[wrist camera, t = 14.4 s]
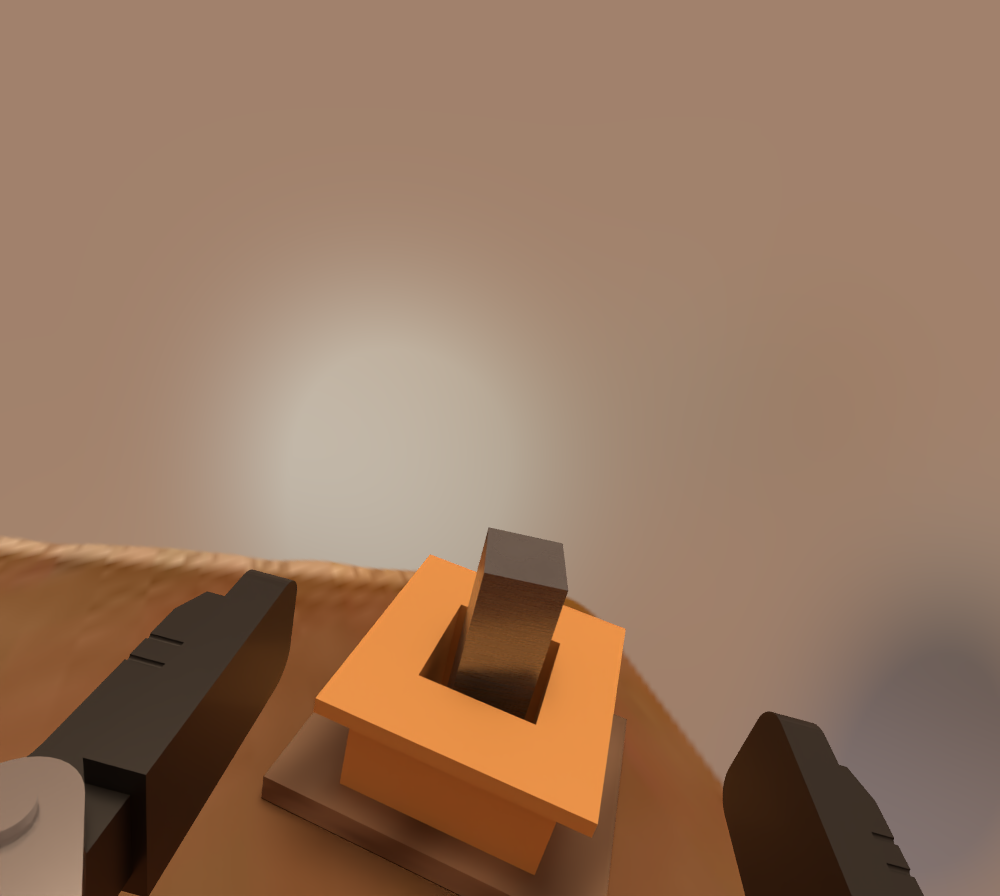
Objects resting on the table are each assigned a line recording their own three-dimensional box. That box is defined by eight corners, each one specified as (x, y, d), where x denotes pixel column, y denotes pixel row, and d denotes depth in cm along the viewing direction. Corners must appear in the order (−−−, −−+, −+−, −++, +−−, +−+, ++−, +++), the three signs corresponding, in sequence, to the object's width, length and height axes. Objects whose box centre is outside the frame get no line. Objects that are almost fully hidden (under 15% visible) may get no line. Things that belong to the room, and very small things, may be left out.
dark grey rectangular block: (431, 768, 29) (483, 572, 24) (441, 709, 32) (488, 527, 27) (502, 782, 29) (568, 590, 24) (504, 722, 32) (562, 543, 27)
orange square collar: (301, 794, 26) (315, 698, 24) (413, 631, 37) (430, 554, 35) (555, 916, 24) (597, 824, 22) (594, 706, 35) (625, 629, 32)
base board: (261, 797, 27) (263, 776, 26) (381, 638, 38) (385, 620, 37) (591, 959, 24) (601, 939, 24) (619, 736, 35) (626, 719, 34)
